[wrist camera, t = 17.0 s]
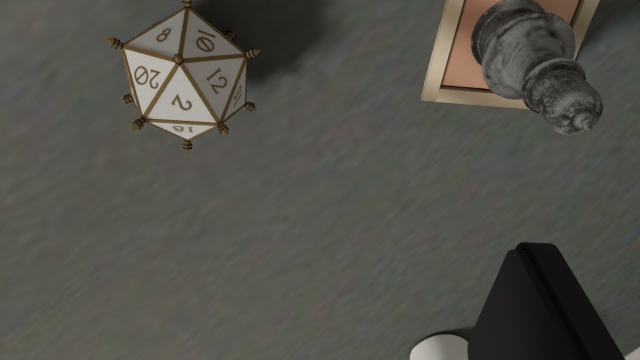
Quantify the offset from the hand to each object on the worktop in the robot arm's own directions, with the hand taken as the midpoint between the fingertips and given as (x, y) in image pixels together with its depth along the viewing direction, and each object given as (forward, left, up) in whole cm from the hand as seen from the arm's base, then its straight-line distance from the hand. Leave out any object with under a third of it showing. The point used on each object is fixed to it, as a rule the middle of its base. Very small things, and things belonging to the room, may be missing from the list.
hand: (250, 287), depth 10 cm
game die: (+8, -4, -28) cm, 30 cm away
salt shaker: (+5, +17, -28) cm, 33 cm away
